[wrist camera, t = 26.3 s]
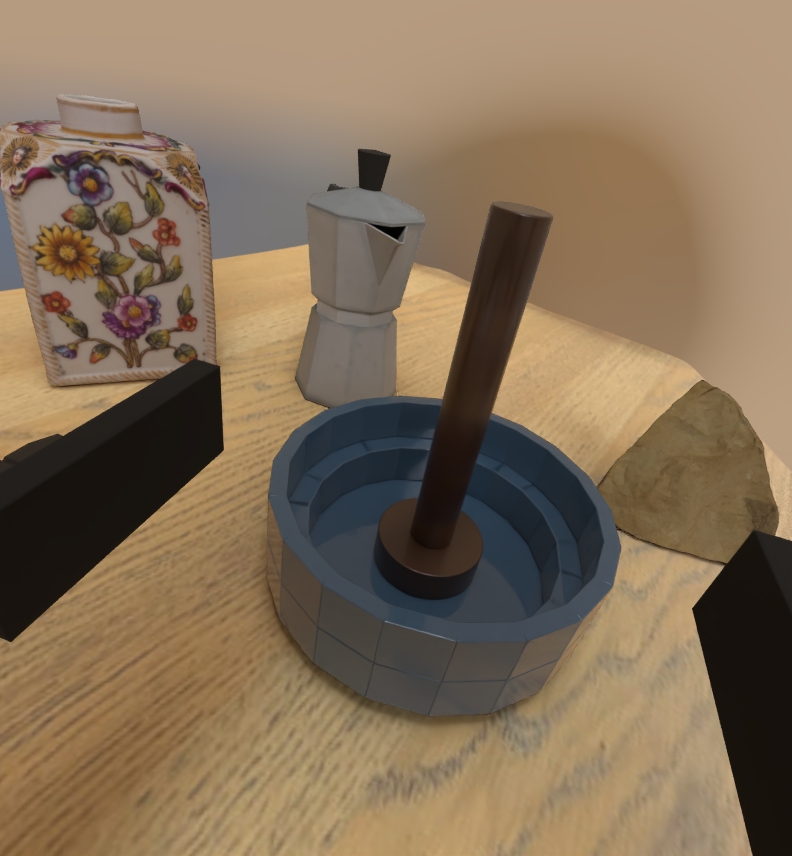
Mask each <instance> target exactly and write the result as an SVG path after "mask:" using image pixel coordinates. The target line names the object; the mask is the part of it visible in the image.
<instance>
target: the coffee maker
mask: <svg viewBox="0 0 792 856" xmlns="http://www.w3.org/2000/svg"><path fill="white" fill-rule="evenodd" d="M390 157H391V155H390V154H387V153H383V152H380V151H377V150H367V149H358V163H359V164H358V165H359V187H353V188H343V187H339V186H337V185H336V184H330V186H329V188H328V190H327V192H322V193H316V194H313V195H312V196H311V197H310V199H309V200H308V201H307V205H306V210H307V225H308V241H309V258H310V274H311V290H312V294H313V295H314V296H315V297H316V298H317V299H318V303H317V304H315V305H314V306H313V307H312V310H311V314H310V318H309V322H308V326H307V331H306V335H305V339H304V343H303V347H302V352H301V356H300V360H299V364H298V368H297V372H296V377H295V379H296V381H297V383H298V386H299V388H300V390H301V392H302V394H303V396H304V398H305V399H307V400H310V401H312V402H315V403H318V404H321V405H323V406H326V407H329V408H334V407H337V406H340V405H343V404H347V403H350V402H353V401H356V400H360V399H369V398H380V397H390V396H393V395H394V394H395V393H396V339H397V320H396V318H395V317H394V315H393V314H392V312H393V310H395V309H397V308H399V307H400V304H401V301H402V297H403V294H404V291H405V288H406V284H407V281H408V278H409V275H410V271H411V268H412V265H413V262H414V258H415V255H416V252H417V248H418V245H419V242H420V239H421V236H422V233H423V229H424V226H425V218H424V215H423V213H422V212H420V211H419V210H417V209H415V208H413V207H411V206H409V205H407V204H406V203H404V202H402V201H400V200H398V199H396V198H394V197H392V196H391V195H389V194H387V193H385V192H383V191H381V188H382V185H383V181H384V178H385V174H386V170H387V167H388V164H389V160H390Z"/></svg>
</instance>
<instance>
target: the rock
mask: <svg viewBox="0 0 792 856" xmlns="http://www.w3.org/2000/svg"><path fill="white" fill-rule="evenodd" d="M596 488H597V489H598V490H599V492H600V493H601V495H602V496H603V498H604V499H605V501H606V502H607V504H608V505H609V507H610V508H611V510H612V514H613V517H614V521H615V524H616V526H617V527H619V528H620V529H622V530H624V531H626V532H628V533H630V534H632V535H634V536H635V537H636V538H639V539H643V540H646V541H649V542H652V543H654V544H657V545H660V546H662V547H665V548H670V549H673V550H676V551H680V552H687V553H690V554H693V555H696V556H698V557H700V558H704V559H708V560H717V561H720V562H724V563H726V564H727V563H728V562H729V561H730V559H731V558H732V557H733V556H734V554H735V553H736V552H737V550H738V549H739V548H740V547H741V545H742V544H743V543H744V541H745V540H746V539H747V538H748V536H749V535H750V534H751V532H752V531H753V530H757V531H760V532H763V533H767V534H770V535H773V536H775V533H776V530H777V527H778V523H779V512H778V507H777V505H776V502H775V500H774V498H773V494H772V490H771V488H770V478H769V473H768V471H767V465H766V461H765V456H764V447H763V444H762V441H761V440H760V439H759V437H758V436H757V434H756V432H755V431H754V429H753V428H752V426H751V424H750V423H749V421H748V420H747V419H746V417H745V416H744V414H743V412H742V409H741V407H740V406H739V405H738V403H737V402H736V401H735V400H734V399H733V398H732V397H731V396H730V395H729V394H727V393H726V392H724V391H722V390H720V389H718V388H717V387H713V386H711V385H710V384H709V383H707V382H706V381H704V380H701V381H699V382H698V383H696V384H695V385H694V386H693V387H692V388H691V389H690V390H689V391H688V392H687V393H686V394H685V395H684V396H682V397H681V398H680V399H678V400H677V401H676V402H674V403H673V404H672V406H671V407H670V408H669V409H668V410H667V411H666V412H665V413H663V414H662V415H661V416H660V417H659V418H658V419H657V420H656V421H655V422H654V423H653V424H652V425H651V427H650V428H649V429H648V430H647V431H646V432H645V433H644V434H643V436H641V437H640V438H639V439H638V440H637V441H636V443H635V444H634V445H633V446H632V447H631V448H629V449H628V450H627V451H626V453H625V454H624V455H622V456H621V457H620V458H619V459H618V460H617V461H616V462H615V463H614V465H613V466H612V467H611V468H610V469H609V471H608V472H607V474H606V475H605V476H604V478H603V479H602V480H601V482H600V483H599V485H598V486H597V487H596Z"/></svg>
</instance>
